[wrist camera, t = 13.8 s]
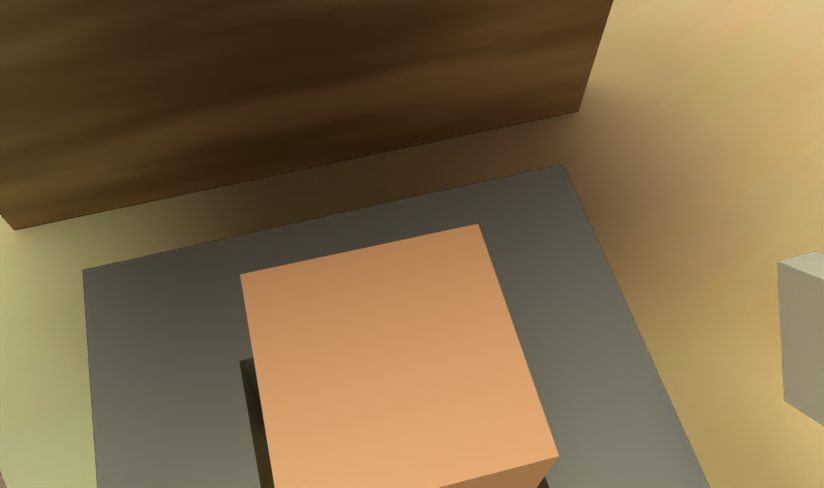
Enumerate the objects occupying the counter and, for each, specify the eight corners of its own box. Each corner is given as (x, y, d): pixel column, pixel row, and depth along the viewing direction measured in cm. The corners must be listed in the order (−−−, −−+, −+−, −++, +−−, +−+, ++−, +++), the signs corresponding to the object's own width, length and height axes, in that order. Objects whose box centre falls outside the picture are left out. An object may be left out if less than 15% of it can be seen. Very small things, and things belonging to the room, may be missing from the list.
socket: (700, 684, 21) (799, 686, 16) (201, 851, 19) (126, 917, 14) (531, 262, 27) (563, 163, 22) (147, 354, 25) (82, 270, 20)
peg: (484, 560, 22) (558, 456, 12) (337, 601, 22) (281, 528, 11) (444, 417, 24) (478, 223, 14) (309, 451, 24) (240, 274, 13)
